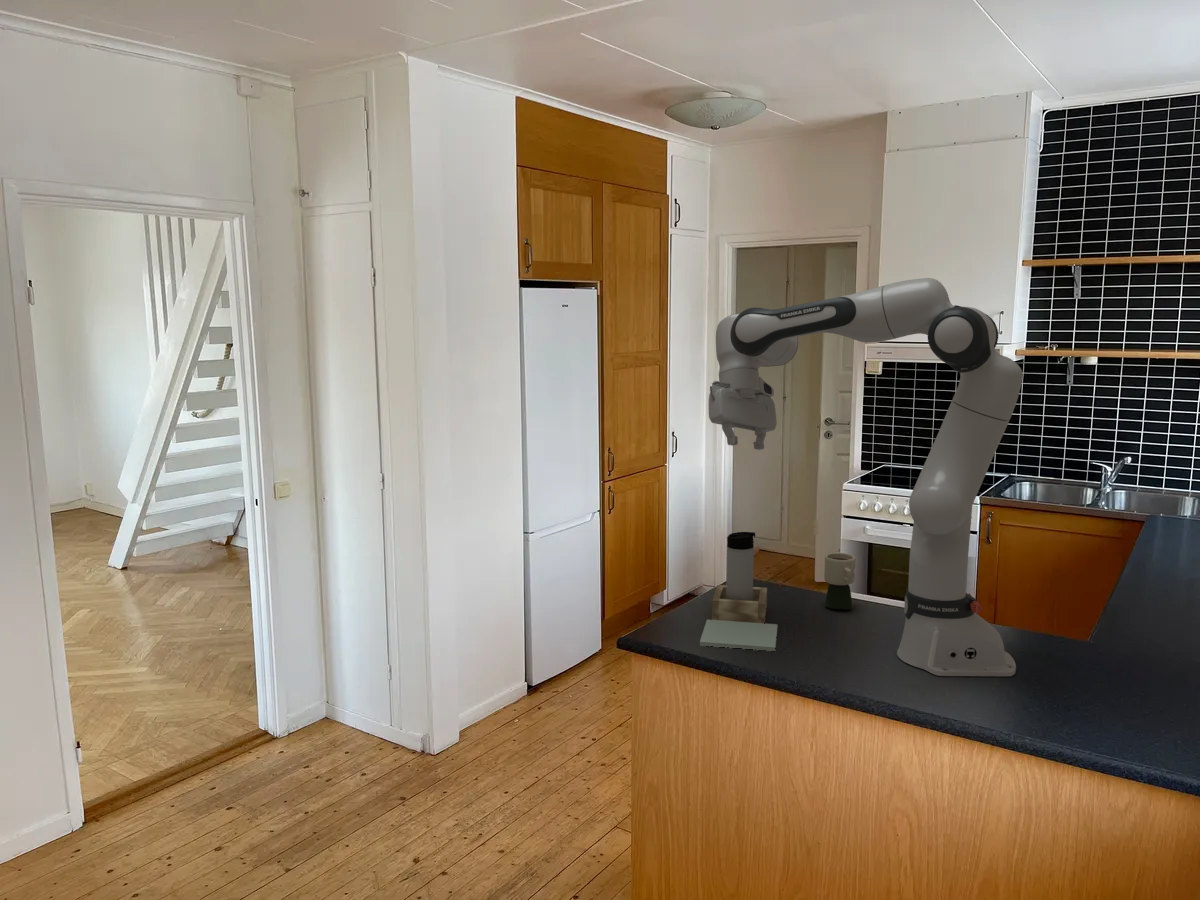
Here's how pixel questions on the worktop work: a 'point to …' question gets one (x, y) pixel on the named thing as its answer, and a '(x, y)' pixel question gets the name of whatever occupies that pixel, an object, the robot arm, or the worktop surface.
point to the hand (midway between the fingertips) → (746, 447)
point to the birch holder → (739, 606)
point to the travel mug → (740, 566)
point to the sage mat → (739, 635)
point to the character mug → (839, 579)
